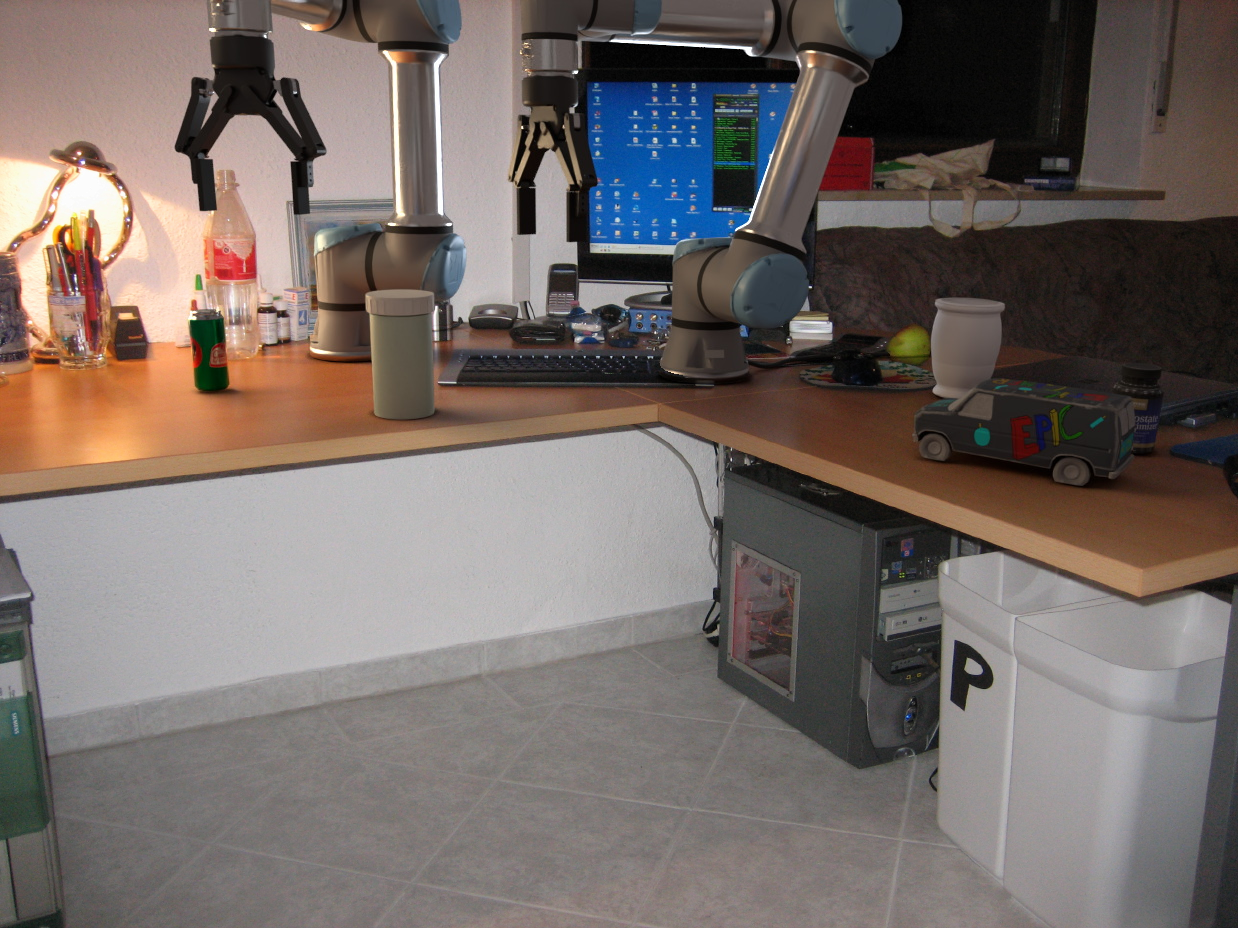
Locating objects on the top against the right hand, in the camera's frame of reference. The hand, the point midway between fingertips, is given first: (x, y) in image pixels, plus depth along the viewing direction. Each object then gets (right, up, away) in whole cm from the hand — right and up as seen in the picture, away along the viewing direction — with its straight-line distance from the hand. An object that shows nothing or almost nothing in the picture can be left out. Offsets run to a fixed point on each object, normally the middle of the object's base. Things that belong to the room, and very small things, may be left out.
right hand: (550, 238), depth 149 cm
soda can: (-53, -20, +16) cm, 59 cm away
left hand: (-38, +1, -11) cm, 39 cm away
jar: (+64, -21, +21) cm, 70 cm away
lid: (-21, -8, 0) cm, 22 cm away
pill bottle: (+77, -30, -8) cm, 83 cm away
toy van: (+59, -32, -16) cm, 69 cm away
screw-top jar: (-21, -24, +4) cm, 32 cm away
